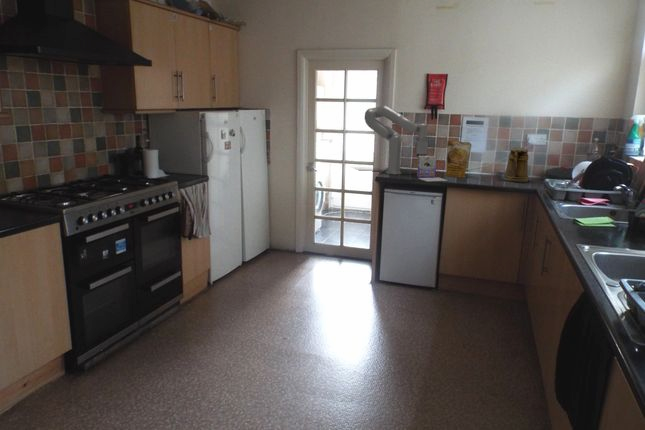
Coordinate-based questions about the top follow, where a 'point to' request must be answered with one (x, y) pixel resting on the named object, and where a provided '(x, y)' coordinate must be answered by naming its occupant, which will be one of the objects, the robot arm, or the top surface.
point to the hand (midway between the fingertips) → (420, 162)
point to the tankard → (517, 166)
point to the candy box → (426, 166)
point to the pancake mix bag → (457, 158)
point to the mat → (432, 179)
